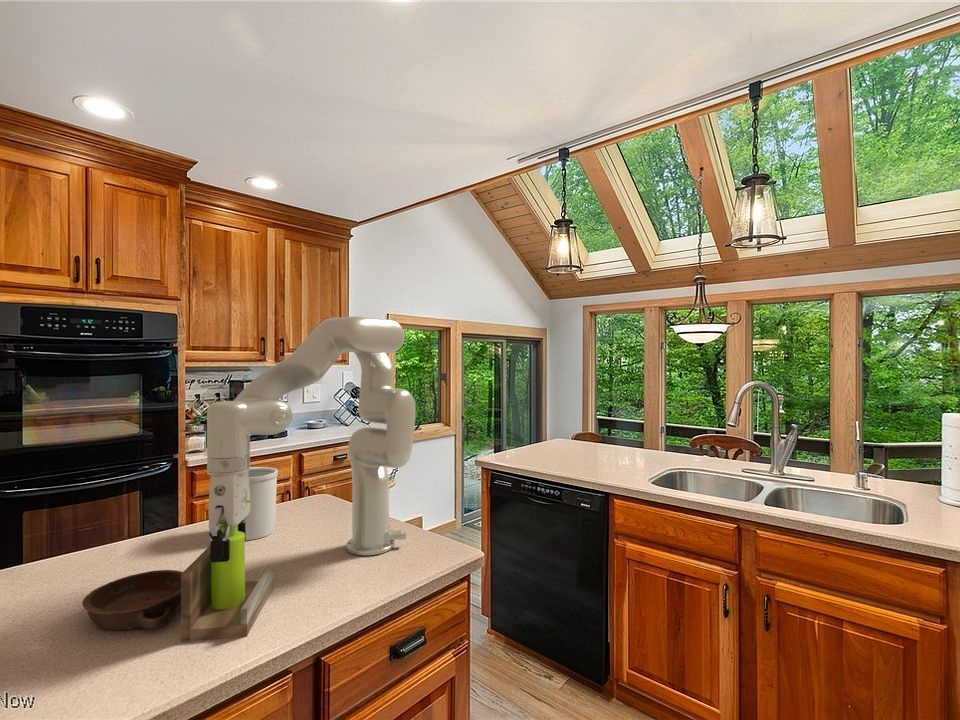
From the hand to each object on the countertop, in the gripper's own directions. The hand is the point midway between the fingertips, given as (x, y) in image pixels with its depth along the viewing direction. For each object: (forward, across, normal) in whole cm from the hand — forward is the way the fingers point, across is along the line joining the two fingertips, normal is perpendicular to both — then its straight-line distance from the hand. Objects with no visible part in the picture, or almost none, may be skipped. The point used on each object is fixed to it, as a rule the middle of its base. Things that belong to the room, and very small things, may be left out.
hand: (228, 551), depth 96 cm
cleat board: (+12, 0, 0) cm, 12 cm away
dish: (+13, +3, +18) cm, 22 cm away
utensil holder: (+12, +46, +10) cm, 49 cm away
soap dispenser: (+10, +1, 0) cm, 10 cm away
